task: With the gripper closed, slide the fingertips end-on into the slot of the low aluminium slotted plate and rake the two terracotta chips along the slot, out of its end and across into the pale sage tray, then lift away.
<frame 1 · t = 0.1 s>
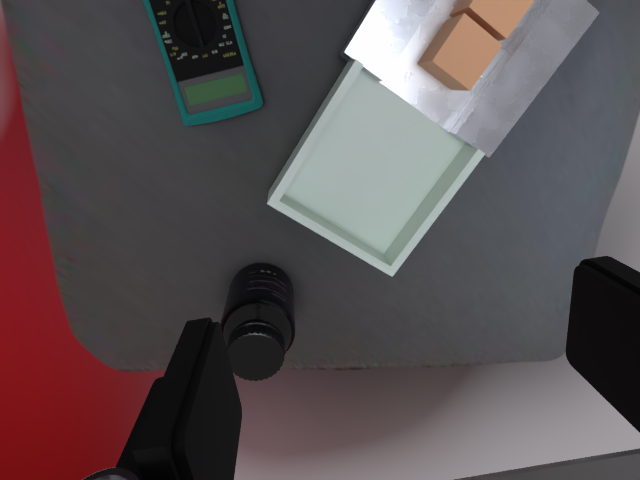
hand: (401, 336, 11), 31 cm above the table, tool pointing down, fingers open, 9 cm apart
supplement bottle: (262, 289, 45), on the table
digital multimeter: (202, 33, 36), on the table
slotted block: (454, 37, 37), on the table
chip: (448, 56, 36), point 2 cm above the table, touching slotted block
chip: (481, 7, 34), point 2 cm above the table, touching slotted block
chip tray: (365, 168, 41), on the table
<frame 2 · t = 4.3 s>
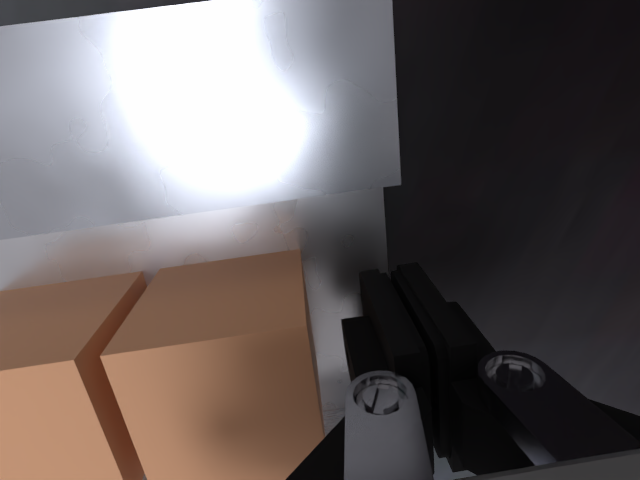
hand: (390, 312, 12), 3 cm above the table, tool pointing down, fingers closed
slotted block: (177, 298, 14), on the table
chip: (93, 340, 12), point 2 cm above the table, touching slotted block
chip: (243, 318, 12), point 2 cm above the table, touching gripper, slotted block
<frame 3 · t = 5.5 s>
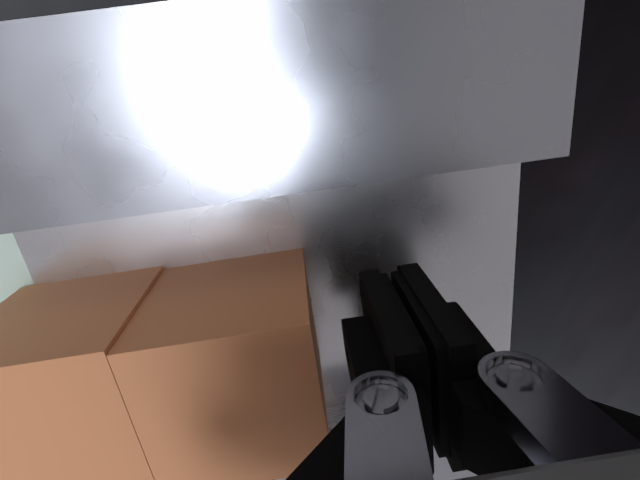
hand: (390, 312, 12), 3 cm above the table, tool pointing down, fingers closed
slotted block: (289, 278, 14), on the table
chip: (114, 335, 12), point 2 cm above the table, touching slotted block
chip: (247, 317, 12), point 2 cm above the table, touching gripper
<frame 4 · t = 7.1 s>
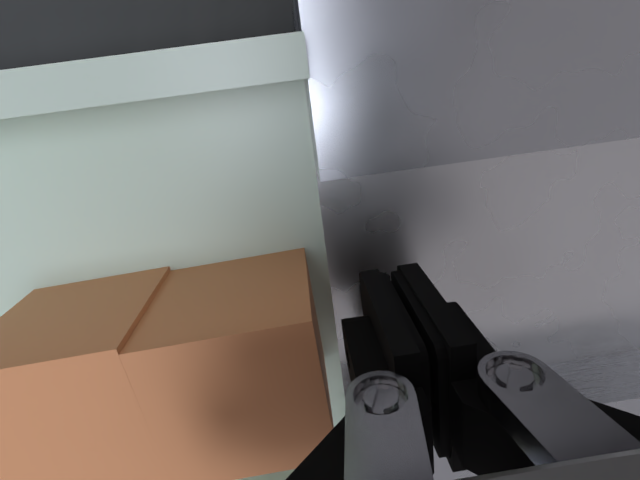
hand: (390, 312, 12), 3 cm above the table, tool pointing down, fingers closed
slotted block: (518, 238, 15), on the table
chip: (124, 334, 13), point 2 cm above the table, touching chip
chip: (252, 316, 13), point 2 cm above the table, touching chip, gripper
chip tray: (128, 294, 14), on the table
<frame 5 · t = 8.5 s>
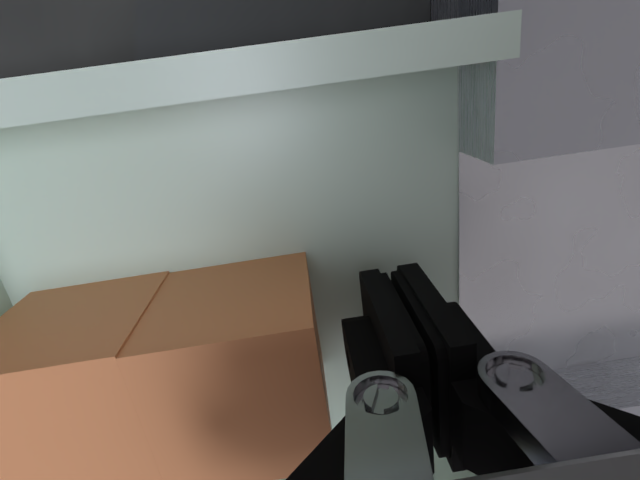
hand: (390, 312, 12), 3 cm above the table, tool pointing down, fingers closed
slotted block: (628, 227, 15), on the table
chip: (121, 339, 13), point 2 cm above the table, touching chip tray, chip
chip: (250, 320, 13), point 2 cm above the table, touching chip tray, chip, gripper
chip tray: (240, 285, 14), on the table
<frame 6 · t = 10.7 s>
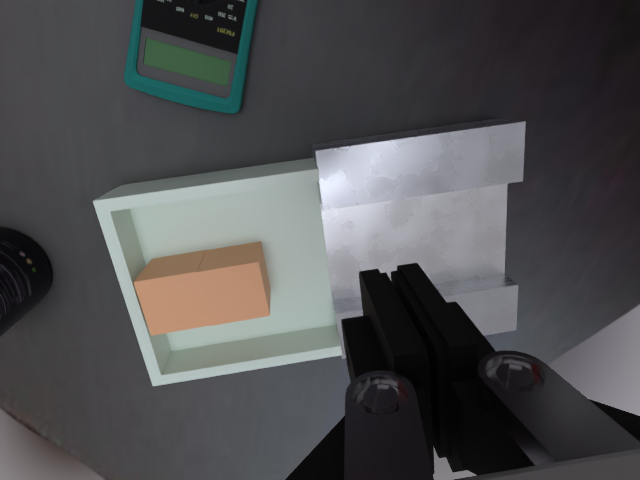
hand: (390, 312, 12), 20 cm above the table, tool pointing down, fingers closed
supplement bottle: (8, 267, 31), on the table
slotted block: (409, 232, 33), on the table
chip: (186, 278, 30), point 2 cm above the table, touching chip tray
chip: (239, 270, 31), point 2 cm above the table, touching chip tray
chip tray: (236, 258, 32), on the table
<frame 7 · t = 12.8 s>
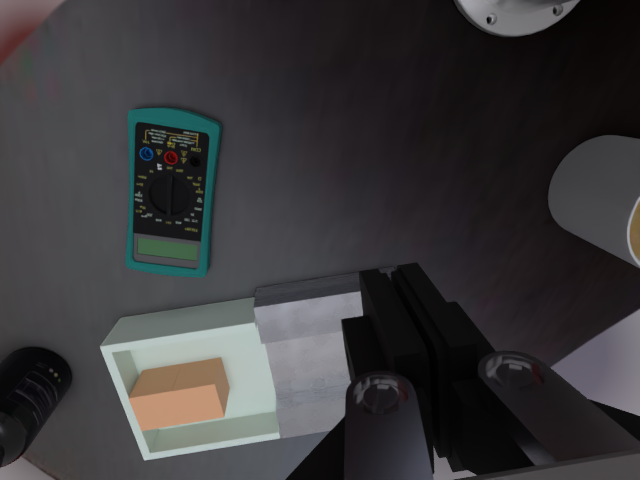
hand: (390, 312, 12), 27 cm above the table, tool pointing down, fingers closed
supplement bottle: (40, 371, 43), on the table
digital multimeter: (177, 193, 38), on the table
coffee mug: (605, 196, 41), on the table
slotted block: (334, 342, 44), on the table
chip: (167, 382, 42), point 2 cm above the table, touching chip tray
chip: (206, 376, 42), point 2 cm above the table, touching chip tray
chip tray: (205, 363, 44), on the table
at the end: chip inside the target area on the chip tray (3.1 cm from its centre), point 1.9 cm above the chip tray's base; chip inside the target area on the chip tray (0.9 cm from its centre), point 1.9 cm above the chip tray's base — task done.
